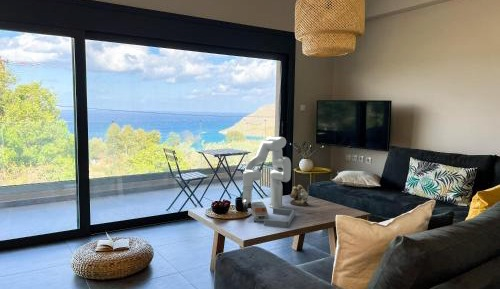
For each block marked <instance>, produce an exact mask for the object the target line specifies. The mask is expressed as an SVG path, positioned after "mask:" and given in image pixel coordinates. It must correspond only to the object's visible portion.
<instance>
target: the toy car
mask: <svg viewBox="0 0 500 289" xmlns="http://www.w3.org/2000/svg"><path fill="white" fill-rule="evenodd" d="M251 202H252V203H251V209H250V213H251V216H252V217H253V222H254V223H257V222H264V219H268V220H270V219H269V218H270V217H269V216H270V215H269V213H268V210H267V206H266V204H265V203H264V202H263V201H251Z"/></svg>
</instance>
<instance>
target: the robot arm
mask: <svg viewBox="0 0 500 289" xmlns="http://www.w3.org/2000/svg"><path fill="white" fill-rule="evenodd" d="M286 144H287V140H286V138H285V137H283V136H276V135H269V136H267V137H266V139H264V140H262V141H261V142H260V144H259V147H258V149H257V151H256V154H255V156H254V157H253V158H252V159H250V161H248V163H246V166H245V169H244V171H243V173H242V190H243V191H242V201H241V202H242V204H243V212H244V213H248V211H249V209H250V210H251V204H252V202H253V201H252V200H253V190H254V184H253V183H254V181H260V180H261V179H262V177H263V173H262V172H261V171H260V170H257V169H253V168H254V167H255V166H257V165H259V164H262V163H265V161H266V160H267V158H268V155H269V154H270V153H269V152H271V165H272V167H273V169H272V170H270V173H269V176H270V177H269V178H270V185H271V186H270V187H271V188H270V189H271V190H270V204H268V207H269V208H271V209H273V208H278V209H284V207H285V205H284V204H283V190H284V188H283V183H282V182H284V183H288V182H289V181H290V180H291V176H292V175H291V174H292V173H291V172H292V162H291V159H290V158H289V157H287V156H283V148H285V146H286Z"/></svg>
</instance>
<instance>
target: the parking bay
mask: <svg viewBox="0 0 500 289" xmlns="http://www.w3.org/2000/svg"><path fill="white" fill-rule="evenodd" d="M272 214H274V215H285V216H287V215H288V217H287V219H286V220H279V219H277V220H276V219H269V218H268V219H269V220H268V219H264V221H263V226H266V227H267V226H269V227H276V228H279V227H280V228H285V229H286V228H287V229H288V228H290V225H291V223H292V221H293V219H294V217H295V216H296V210H295V209H286V208H272Z"/></svg>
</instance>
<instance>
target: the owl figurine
mask: <svg viewBox="0 0 500 289" xmlns="http://www.w3.org/2000/svg"><path fill="white" fill-rule="evenodd" d="M291 189H292V191H291V193H290V194H289V195H288V196H289V197H290V198H291V200H290V202H289V204H290V205H291V206H296V207H308V206H309V203H308V201H309V200H308V198H309V193H308V192H307V191H306V189H305V188H304V187H303V186H302V185H301V184H298V185H297V186H292V188H291Z"/></svg>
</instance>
